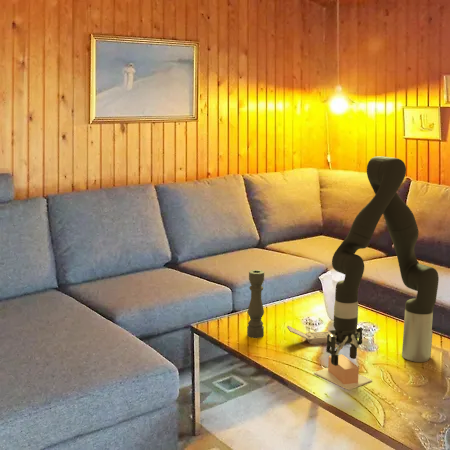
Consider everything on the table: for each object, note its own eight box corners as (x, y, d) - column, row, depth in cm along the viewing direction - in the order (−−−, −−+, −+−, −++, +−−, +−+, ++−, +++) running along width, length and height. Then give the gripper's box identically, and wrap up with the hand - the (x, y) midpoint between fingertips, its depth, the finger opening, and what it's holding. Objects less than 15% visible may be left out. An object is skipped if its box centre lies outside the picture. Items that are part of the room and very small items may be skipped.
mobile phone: (286, 325, 233) (349, 321, 238) (285, 340, 235) (349, 336, 239) (290, 331, 228) (355, 327, 232) (290, 346, 229) (355, 342, 233)
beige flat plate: (337, 365, 212) (337, 364, 212) (371, 381, 201) (372, 379, 201) (313, 373, 206) (313, 372, 206) (348, 390, 194) (348, 389, 194)
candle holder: (245, 333, 241) (246, 270, 236) (260, 331, 243) (261, 269, 238) (250, 339, 235) (251, 274, 230) (265, 337, 237) (267, 273, 232)
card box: (358, 382, 199) (358, 367, 198) (343, 384, 197) (344, 369, 196) (341, 368, 209) (342, 354, 208) (328, 370, 207) (328, 355, 206)
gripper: (339, 321, 192) (337, 371, 195) (369, 312, 200) (367, 359, 204) (321, 315, 198) (319, 363, 201) (351, 306, 206) (350, 352, 209)
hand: (343, 361), depth 202 cm, fingers open, 8 cm apart
